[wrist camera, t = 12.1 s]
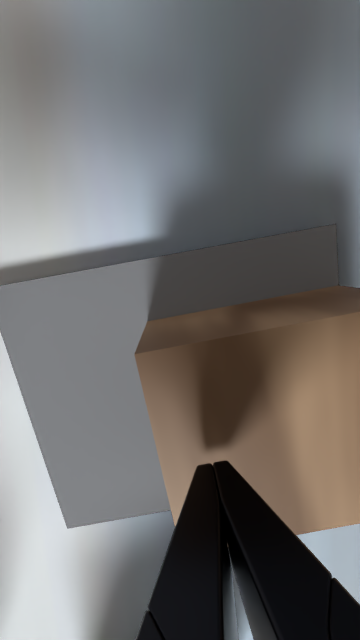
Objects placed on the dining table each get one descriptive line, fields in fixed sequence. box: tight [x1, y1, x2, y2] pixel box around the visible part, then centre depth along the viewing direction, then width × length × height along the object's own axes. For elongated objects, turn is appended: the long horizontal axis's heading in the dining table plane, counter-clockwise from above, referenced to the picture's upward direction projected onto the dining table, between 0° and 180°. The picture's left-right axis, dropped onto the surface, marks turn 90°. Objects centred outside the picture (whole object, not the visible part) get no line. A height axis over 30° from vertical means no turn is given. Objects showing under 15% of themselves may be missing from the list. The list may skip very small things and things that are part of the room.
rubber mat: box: [0, 224, 339, 529], centre depth 12 cm, size 14×12×1 cm
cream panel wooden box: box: [134, 285, 360, 535], centre depth 10 cm, size 4×7×8 cm
